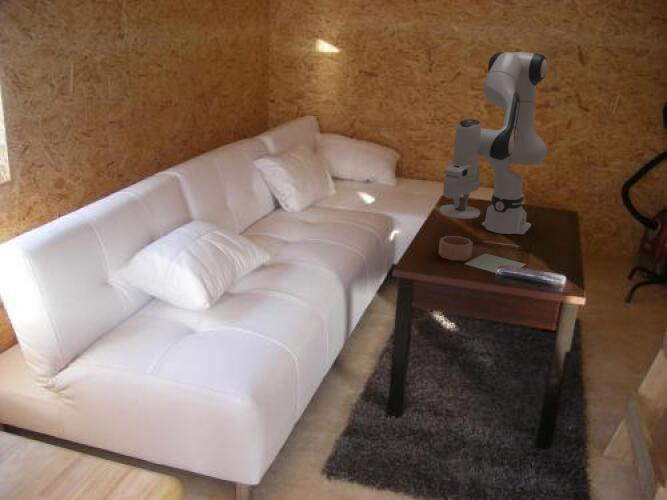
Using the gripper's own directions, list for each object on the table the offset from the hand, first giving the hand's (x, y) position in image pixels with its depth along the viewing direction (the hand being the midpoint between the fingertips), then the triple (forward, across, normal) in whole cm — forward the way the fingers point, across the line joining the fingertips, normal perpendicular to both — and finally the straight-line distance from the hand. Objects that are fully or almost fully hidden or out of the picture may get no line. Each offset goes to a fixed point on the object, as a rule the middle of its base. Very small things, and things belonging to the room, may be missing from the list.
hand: (460, 206), depth 228 cm
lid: (+2, 0, 0) cm, 2 cm away
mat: (+19, -2, +15) cm, 24 cm away
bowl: (+19, 0, 0) cm, 19 cm away
